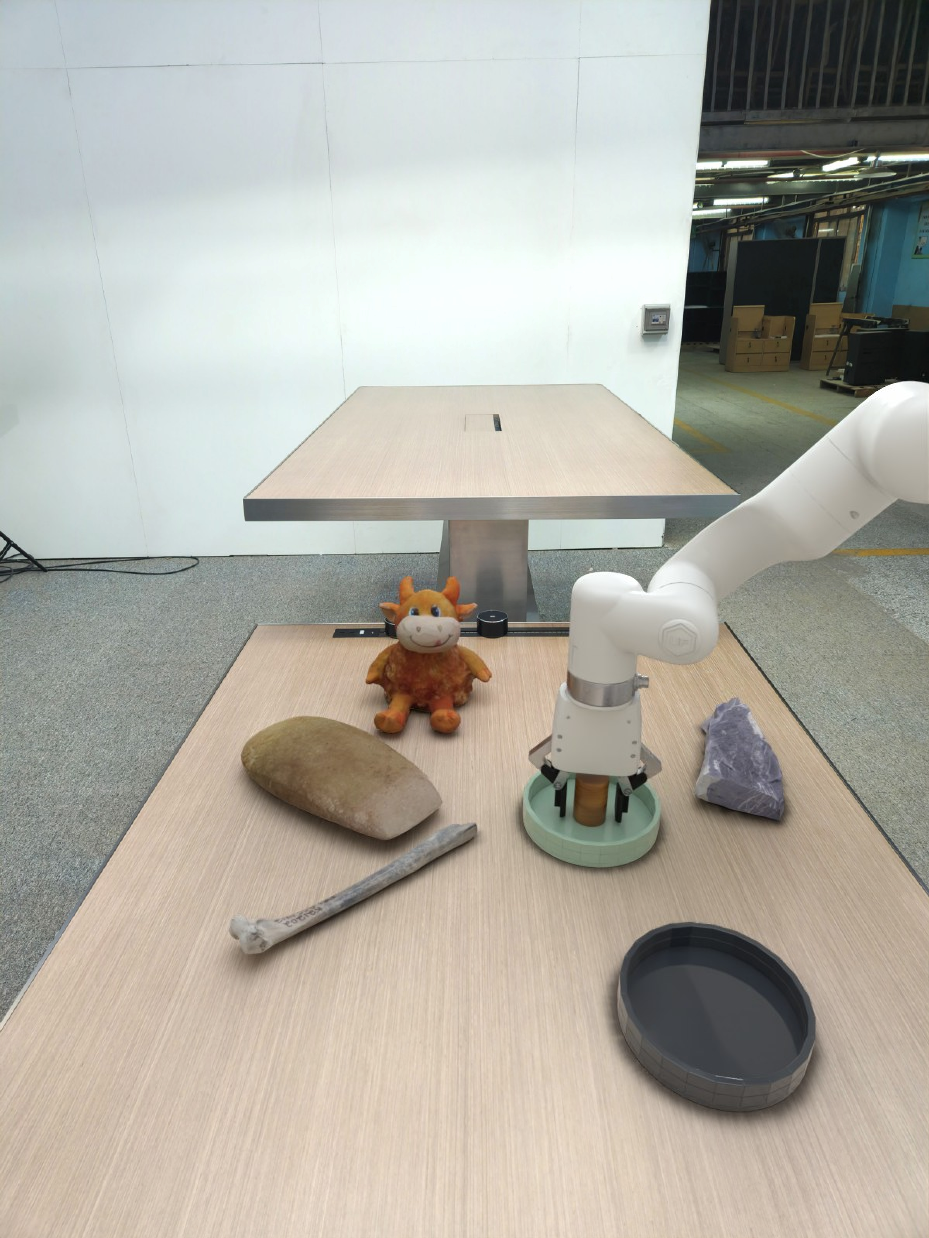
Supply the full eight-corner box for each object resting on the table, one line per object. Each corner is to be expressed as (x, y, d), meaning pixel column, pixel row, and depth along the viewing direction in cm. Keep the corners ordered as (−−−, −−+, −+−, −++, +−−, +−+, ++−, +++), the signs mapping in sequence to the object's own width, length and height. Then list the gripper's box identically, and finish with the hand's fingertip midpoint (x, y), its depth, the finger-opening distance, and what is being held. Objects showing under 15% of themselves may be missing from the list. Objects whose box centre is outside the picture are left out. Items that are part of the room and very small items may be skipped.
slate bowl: (831, 1006, 68) (838, 981, 66) (772, 1156, 56) (779, 1129, 55) (664, 919, 77) (667, 896, 76) (583, 1033, 65) (586, 1007, 64)
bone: (459, 823, 91) (459, 789, 89) (483, 842, 88) (483, 808, 86) (230, 948, 74) (223, 910, 72) (249, 977, 71) (243, 938, 69)
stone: (372, 830, 81) (376, 872, 83) (460, 764, 91) (462, 804, 94) (211, 736, 98) (218, 773, 101) (300, 690, 109) (305, 725, 111)
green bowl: (680, 812, 92) (683, 791, 91) (617, 889, 81) (619, 866, 79) (567, 764, 102) (568, 745, 100) (496, 827, 90) (496, 806, 89)
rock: (785, 828, 90) (792, 793, 87) (692, 810, 93) (697, 776, 91) (776, 721, 111) (782, 691, 109) (701, 710, 114) (705, 680, 112)
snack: (611, 814, 91) (615, 773, 89) (595, 831, 88) (599, 790, 86) (583, 801, 93) (586, 761, 91) (566, 817, 91) (568, 777, 88)
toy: (333, 723, 105) (363, 555, 111) (379, 742, 125) (401, 600, 132) (467, 738, 101) (489, 563, 107) (491, 755, 121) (508, 608, 128)
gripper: (676, 671, 85) (660, 799, 93) (525, 662, 88) (521, 787, 95) (684, 705, 79) (665, 840, 86) (520, 694, 81) (516, 826, 89)
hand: (590, 811), depth 91 cm, fingers open, 6 cm apart
